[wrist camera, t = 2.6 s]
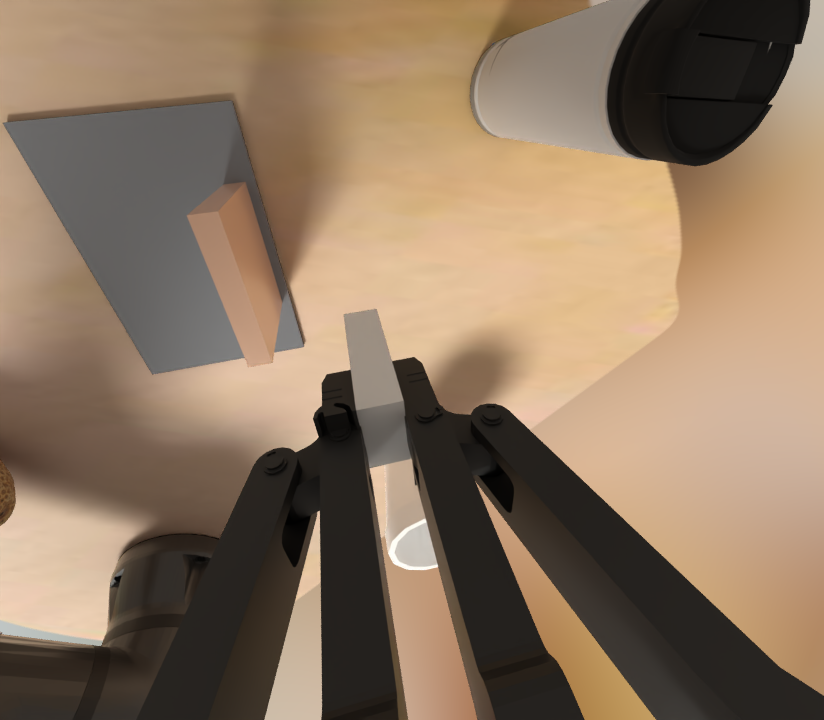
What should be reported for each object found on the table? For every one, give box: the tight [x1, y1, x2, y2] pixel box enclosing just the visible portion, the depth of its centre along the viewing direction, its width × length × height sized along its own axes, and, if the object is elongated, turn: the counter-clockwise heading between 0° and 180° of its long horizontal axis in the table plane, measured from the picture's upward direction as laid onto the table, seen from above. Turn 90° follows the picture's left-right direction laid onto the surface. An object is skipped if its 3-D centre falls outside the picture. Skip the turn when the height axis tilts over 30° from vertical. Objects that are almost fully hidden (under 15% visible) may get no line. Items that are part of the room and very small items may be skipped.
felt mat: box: [3, 101, 304, 374], centre depth 31 cm, size 14×20×1 cm
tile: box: [187, 182, 282, 367], centre depth 27 cm, size 2×10×10 cm, turn 5°
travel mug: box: [470, 0, 810, 166], centre depth 21 cm, size 6×7×20 cm
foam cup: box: [385, 459, 438, 570], centre depth 43 cm, size 10×9×13 cm
